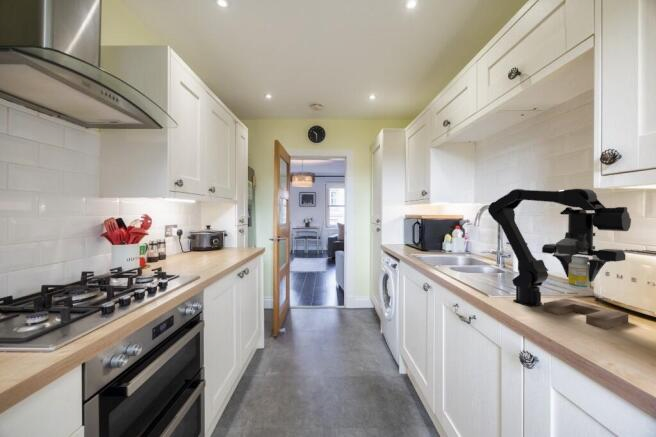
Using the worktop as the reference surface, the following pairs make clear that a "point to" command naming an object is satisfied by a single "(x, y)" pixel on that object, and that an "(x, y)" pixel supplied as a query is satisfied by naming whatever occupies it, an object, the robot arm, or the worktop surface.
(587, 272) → the supplement bottle
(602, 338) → the worktop surface
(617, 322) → the notched board
